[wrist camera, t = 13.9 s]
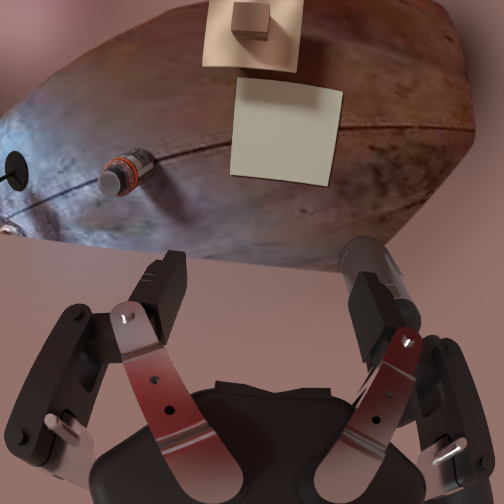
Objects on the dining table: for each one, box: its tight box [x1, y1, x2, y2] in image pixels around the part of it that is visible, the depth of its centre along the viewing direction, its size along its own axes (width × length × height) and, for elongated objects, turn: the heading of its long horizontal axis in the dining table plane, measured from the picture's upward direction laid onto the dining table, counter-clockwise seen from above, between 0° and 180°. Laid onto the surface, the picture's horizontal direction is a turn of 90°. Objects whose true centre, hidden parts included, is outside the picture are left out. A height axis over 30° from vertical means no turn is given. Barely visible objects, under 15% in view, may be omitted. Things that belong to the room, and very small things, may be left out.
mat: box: [230, 77, 343, 186], centre depth 38 cm, size 16×16×1 cm
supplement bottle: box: [98, 149, 154, 197], centre depth 38 cm, size 6×6×11 cm
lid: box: [202, 0, 304, 73], centre depth 23 cm, size 12×12×6 cm
